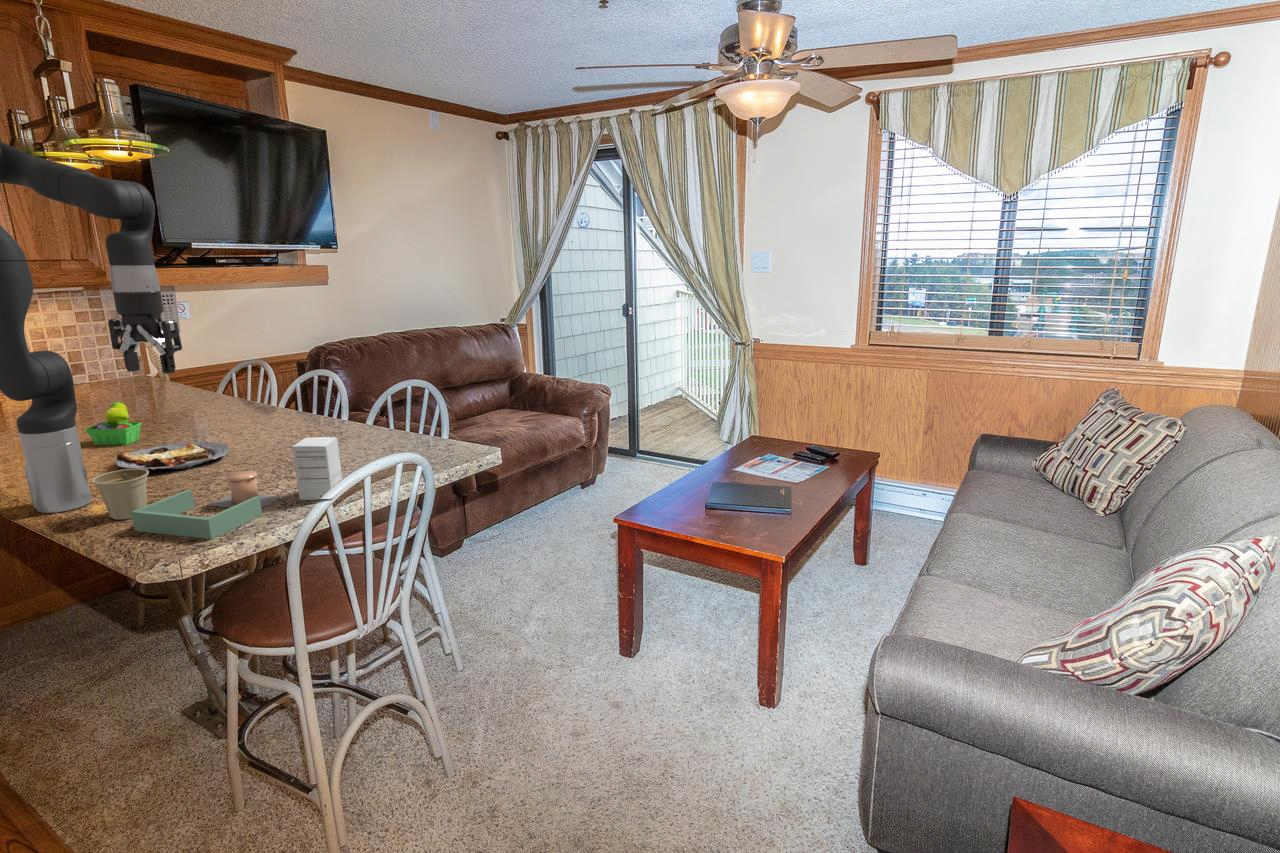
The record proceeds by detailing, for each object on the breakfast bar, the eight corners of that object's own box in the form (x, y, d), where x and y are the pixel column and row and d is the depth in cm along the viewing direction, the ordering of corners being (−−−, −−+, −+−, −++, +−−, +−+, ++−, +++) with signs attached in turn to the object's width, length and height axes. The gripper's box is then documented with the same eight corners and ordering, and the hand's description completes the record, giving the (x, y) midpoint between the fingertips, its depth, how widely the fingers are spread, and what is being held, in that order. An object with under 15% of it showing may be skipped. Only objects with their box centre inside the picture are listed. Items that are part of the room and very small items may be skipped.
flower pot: (99, 527, 135) (90, 486, 133) (100, 512, 142) (92, 473, 140) (156, 516, 140) (149, 477, 138) (155, 503, 148) (148, 465, 145)
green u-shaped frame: (134, 530, 133) (131, 511, 132) (190, 507, 146) (187, 489, 145) (211, 539, 129) (208, 520, 128) (262, 514, 142) (259, 496, 141)
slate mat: (208, 505, 146) (207, 505, 146) (237, 493, 154) (236, 492, 154) (255, 510, 144) (255, 509, 144) (282, 497, 151) (282, 497, 151)
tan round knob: (223, 504, 147) (219, 477, 145) (245, 495, 152) (241, 470, 151) (246, 506, 145) (242, 479, 144) (266, 497, 151) (263, 471, 149)
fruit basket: (86, 446, 190) (78, 407, 187) (109, 438, 198) (101, 400, 196) (128, 446, 190) (120, 407, 187) (149, 438, 199) (142, 400, 196)
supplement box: (311, 489, 157) (304, 436, 154) (344, 488, 157) (338, 436, 154) (298, 500, 150) (291, 445, 147) (332, 500, 150) (326, 445, 147)
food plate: (133, 481, 161) (131, 467, 160) (101, 464, 174) (99, 451, 174) (244, 460, 180) (243, 447, 179) (208, 445, 194) (206, 434, 193)
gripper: (87, 289, 129) (104, 373, 133) (149, 291, 126) (164, 377, 130) (124, 287, 136) (139, 367, 140) (184, 289, 133) (197, 370, 137)
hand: (151, 372), depth 135 cm, fingers open, 8 cm apart
